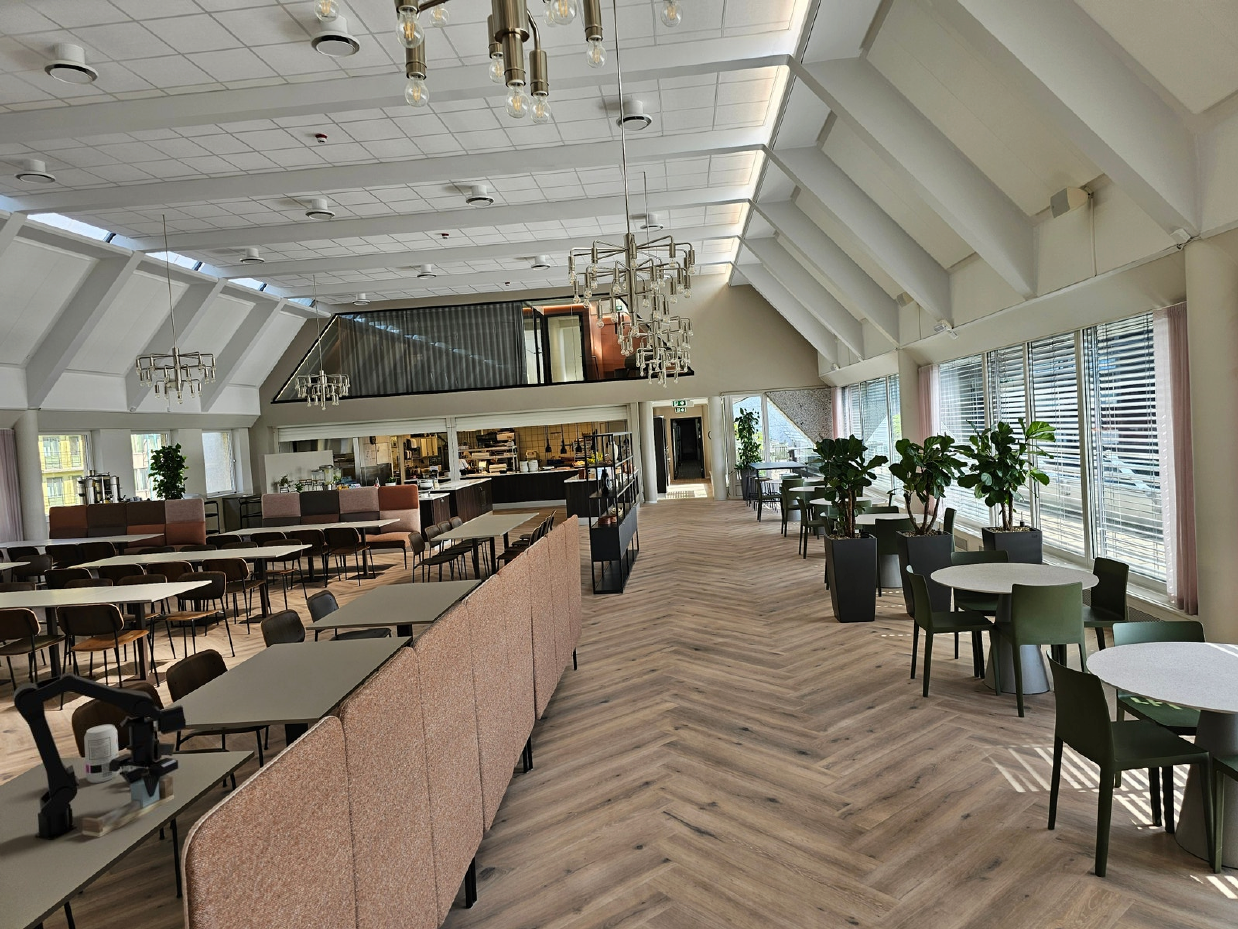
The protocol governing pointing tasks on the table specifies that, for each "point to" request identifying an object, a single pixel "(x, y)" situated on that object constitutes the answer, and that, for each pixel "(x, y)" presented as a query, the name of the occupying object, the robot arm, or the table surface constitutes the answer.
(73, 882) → the table surface
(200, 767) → the table surface
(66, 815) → the robot arm
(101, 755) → the supplement can
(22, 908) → the table surface
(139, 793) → the light blue block
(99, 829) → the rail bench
